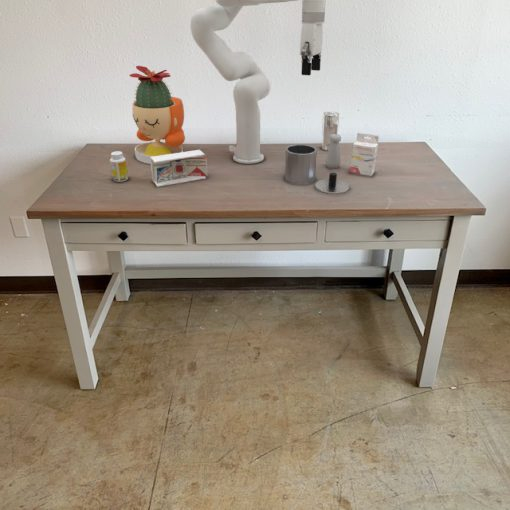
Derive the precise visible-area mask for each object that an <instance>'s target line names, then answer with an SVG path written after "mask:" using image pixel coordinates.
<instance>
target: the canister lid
mask: <svg viewBox="0 0 510 510" xmlns="http://www.w3.org/2000/svg"><path fill="white" fill-rule="evenodd" d="M337 178H338V173H337V172H330V173H329V175H328V178H327V179H320V180H319V181H316V182H315V184H314V188H315V189H316V190H317V191H318V192H320V193H324V194H327V195H328V194H329V195H340V194H345V193H347V192H348V191H349V190H350V185H349V184H348V183H347V182H346V181H343V180H339V179H337Z"/></svg>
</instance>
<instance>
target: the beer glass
mask: <svg viewBox="0 0 510 510" xmlns="http://www.w3.org/2000/svg"><path fill="white" fill-rule="evenodd" d="M321 122H322V123H321V133H322V143H321V150H322V151H326V152H328V151H329V147H330V143H331V141H330V135H332V134H338V132H339V128H340V127H339V126H340V125H339V124H340V113H339V112H337V111H324V112H323V114H322V121H321Z"/></svg>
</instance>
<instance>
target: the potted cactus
mask: <svg viewBox="0 0 510 510" xmlns="http://www.w3.org/2000/svg"><path fill="white" fill-rule="evenodd" d="M135 68H136V70H137V71H139V72H141V73H142V74H143V75H142V74H140V73H131V74H129V77H131V78H137V80H138V81H139V83H138V85H137V86H136V89H134V91H135V93H134V95H135V96H134V99H135V100H133V103H132V105H131V107H132V109H131V110H132V118H133V121H134V123H135V125H136V127H137V128H138V130H137V131H136V137H137V139H139V140H140V141H143V143H139V144H138V145H136V146H135V147H134V155H135V159H136V160H137V161H139V162H141V163H144V164H149V165H151V162H150V157H153V156H160V155H167V154H174V153H180V152H184V148H183V147H182V145H184V143H185V141H186V136H185V131H184V130H183V125H184V122H185V109H184V103H183V100H182V99H181V98H179V97H176V96H171V95H172V93H173V92H170V88H169V87H170V85H168V84H167V82H166V80H165V78H171V73H169V72H168V70H167V69H164V70H162V71H158V72H157V73H156V70H154V69H153V70H152V71H151V70H150V69H149V68H148V66H142V65H136V66H135ZM153 140H154V141H153ZM162 140H164V142H163V141H162Z"/></svg>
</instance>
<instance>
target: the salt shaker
mask: <svg viewBox="0 0 510 510" xmlns="http://www.w3.org/2000/svg"><path fill="white" fill-rule="evenodd" d="M341 140H342V136H341V135H340V134H338V133H337V134H332V135H330V141H331V143H330V147H329V151H327V155H326V158H325V165H326V167H327V168H329V169H337V168H339V167H340V166H341V161H342V160H341V151H340V150H341V149H340V142H341Z"/></svg>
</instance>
